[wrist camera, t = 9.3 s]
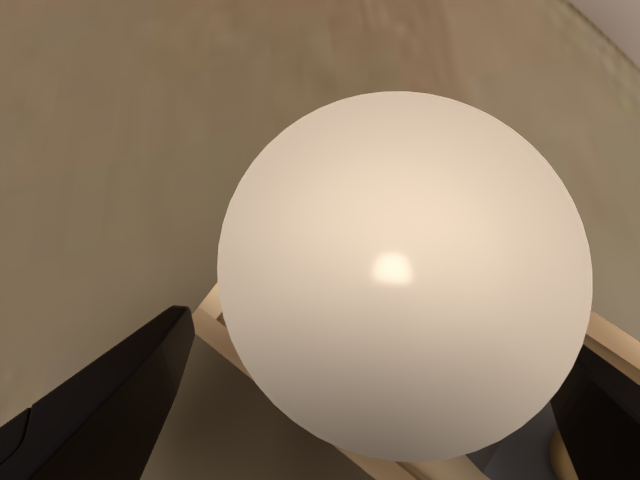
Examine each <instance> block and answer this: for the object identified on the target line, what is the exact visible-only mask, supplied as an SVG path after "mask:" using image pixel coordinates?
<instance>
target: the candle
mask: <svg viewBox="0 0 640 480" xmlns="http://www.w3.org/2000/svg"><path fill="white" fill-rule="evenodd" d="M217 275H218V291H219V297H220V302H221V307H222V313H223V317H224V320H225V323H226V326H227V329H228V332H229V335H230V338H231V341H232V343H233V345H234V347H235V349H236V351H237V353H238V355H239V357H240V359H241V361H242V363H243V365H244V366H245V368H246V369H247V371H248V372H249V374H250V375H251V377H252V378H253V380H254V381H255V383H256V384H257V386H258V387H259V388H260V389H261V390H262V391H263V392H264V394H265V395H266V396H267V397H268V398H269V399H270V400H271V401H272V403H273V404H274V405H275V406H276V407H278V408H279V409H280V410H281V411H282V412H283V413H284V414H286V415H287V416H288V417H289V418H290V419H291V420H292V421H294V422H295V423H296V424H298V425H299V426H301V427H302V428H304V429H306V430H307V431H309V432H310V433H312V434H313V435H315V436H316V437H318V438H320V439H322V440H324V441H326V442H328V443H331V444H333V445H335V446H337V447H339V448H341V449H344V450H347V451H350V452H353V453H357V454H360V455H363V456H366V457H371V458H377V459H383V460H389V461H396V462H427V461H435V460H443V459H450V458H454V457H457V456H461V455H465V454H468V453H472V452H475V451H478V450H480V449H482V448H484V447H487V446H489V445H491V444H494V443H496V442H498V441H500V440H502V439H503V438H505V437H506V436H508V435H509V434H511V433H513V432H514V431H516V430H517V429H519V428H521V427H522V426H523V425H524V424H525V423H527V422H528V421H529V420H530V419H531V418H532V417H534V416H535V415H536V414H537V413H538V412H539V411H541V410H542V408H543V407H544V406H545V405H546V404H547V403H548V402H549V400H550V399H551V398H552V397H553V396H554V395H555V393H556V392H557V391H558V390H559V388H560V387H561V385H562V383H563V382H564V380H565V379H566V377H567V376H568V374H569V372H570V371H571V369H572V367H573V365H574V363H575V361H576V358H577V356H578V354H579V352H580V349H581V347H582V345H583V341H584V337H585V334H586V330H587V327H588V323H589V318H590V311H591V303H592V265H591V258H590V251H589V245H588V241H587V238H586V234H585V231H584V227H583V223H582V221H581V218H580V216H579V214H578V211H577V209H576V207H575V204H574V202H573V200H572V198H571V196H570V195H569V193H568V191H567V189H566V188H565V186H564V184H563V182H562V181H561V179H560V178H559V176H558V175H557V174H556V172H555V171H554V170H553V169H552V167H551V166H550V165H549V163H548V162H547V161H546V160H545V158H544V157H543V156H542V155H541V154H540V153H539V152H538V151H537V150H536V149H535V148H534V147H533V146H532V145H531V144H530V143H529V142H528V141H526V140H525V139H524V138H523V137H522V136H520V135H519V134H518V133H517V132H515V131H514V130H513V129H512V128H510V127H509V126H507V125H505V124H504V123H502V122H501V121H499V120H498V119H496V118H494V117H493V116H491V115H489V114H487V113H485V112H483V111H481V110H479V109H477V108H474V107H472V106H470V105H467V104H464V103H461V102H458V101H456V100H453V99H450V98H445V97H441V96H436V95H432V94H426V93H417V92H407V91H397V92H377V93H370V94H362V95H358V96H354V97H350V98H346V99H342V100H339V101H337V102H334V103H331V104H329V105H326V106H324V107H321V108H319V109H317V110H315V111H313V112H311V113H310V114H308V115H306V116H304V117H302V118H300V119H299V120H298V121H296V122H295V123H293V124H292V125H290V126H289V127H288V128H286V129H285V130H283V131H282V132H281V133H280V134H279V135H278V136H277V137H276V138H275V139H273V140H272V141H271V142H270V143H269V144H268V145H267V146H266V147H265V148H264V149H263V151H262V152H261V153H260V154H259V155H258V156H257V158H256V159H255V160H254V161H253V162H252V164H251V165H250V167H249V168H248V170H247V171H246V173H245V174H244V176H243V177H242V179H241V180H240V182H239V184H238V187H237V189H236V191H235V193H234V195H233V197H232V199H231V201H230V204H229V207H228V210H227V213H226V216H225V219H224V222H223V226H222V231H221V236H220V241H219V247H218V263H217Z"/></svg>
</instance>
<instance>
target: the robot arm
mask: <svg viewBox="0 0 640 480" xmlns="http://www.w3.org/2000/svg"><path fill="white" fill-rule="evenodd" d="M194 336H195V327H194V323H193V319H192V314H191V310H190V308H189V307H187V306H176V305H174V306H171V307H169V308H168V309H166V310H165V311H164V312H162V313H161V314H159V315H158V316H157V317H155V318H154V319H152V320H151V321H150V322H148V323H147V324H145V325H144V326H143V327H141V328H140V329H138V330H137V331H136V332H134V333H133V334H131V335H130V336H129V337H127V338H126V339H124V340H123V341H121V342H120V343H119V344H117V345H116V346H114V347H113V348H112V349H110V350H109V351H107V352H106V353H105V354H103V355H102V356H100V357H99V358H98V359H96V360H95V361H93V362H92V363H91V364H89V365H88V366H86V367H85V368H84V369H82V370H81V371H79V372H78V373H76V374H75V375H74V376H72V377H71V378H69V379H68V380H67V381H65V382H64V383H62V384H61V385H60V386H58V387H57V388H55V389H54V390H53V391H51V392H50V393H48V394H47V395H46V396H44V397H43V398H41V399H40V400H39V401H37V402H36V403H34V404H33V405H32V407H31V408H27V409H26V410H24V411H23V412H21V413H20V414H19V415H17V416H16V417H14V418H13V419H12V420H10V421H9V422H7V423H6V424H4V425H3V426H1V427H0V480H140V478H141V476H142V473H143V471H144V469H145V466H146V464H147V462H148V459H149V457H150V455H151V452H152V450H153V448H154V445H155V443H156V441H157V439H158V436H159V434H160V432H161V429H162V427H163V425H164V422H165V420H166V418H167V415H168V413H169V411H170V408H171V406H172V404H173V401H174V399H175V396H176V394H177V391H178V388H179V385H180V382H181V379H182V375H183V372H184V369H185V366H186V362H187V359H188V356H189V353H190V349H191V346H192V343H193V340H194ZM549 401H550V404H551V408H552V411H553V414H554V418H555V421H556V424H557V427H558V430H559V432H560V435H561V438H562V440H563V443H564V445H565V448H566V450H567V453H568V455H569V458H570V460H571V462H572V465H573V467H574V470H575V472H576V475H577V477H578V480H640V385H639V384H637V383H636V382H635V381H633V380H632V379H630V378H629V377H628V376H626V375H625V374H624V373H622V372H621V371H620V370H618V369H617V368H615V367H614V366H613V365H611V364H610V363H609V362H607V361H606V360H604V359H603V358H602V357H600V356H599V355H598V354H596V353H595V352H594V351H592V350H591V349H589V348H588V347H587V346H585V345H584V344H583V345H582V347H581V349H580V352H579V354H578V356H577V358H576V361H575V363H574V365H573V367H572V369H571V371H570V372H569V374H568V376H567V377H566V379H565V380H564V382H563V383H562V385H561V387H560V388H559V390H558V391H557V392H556V393H555V395H554V396H553V397H552V398H551V399H550V400H549Z"/></svg>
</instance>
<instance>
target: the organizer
mask: <svg viewBox="0 0 640 480" xmlns="http://www.w3.org/2000/svg"><path fill="white" fill-rule="evenodd" d="M192 319H193V323H194V327H195V333H196V334H197V335H198V336H199V337H200V338H202V339H203V340H204V341H205V342H207V343H208V344H209V345H210V346H212V347H213V348H214V349H215V350H216V351H218V352H219V353H220V354H221V355H223V356H224V357H225V358H226V359H228V360H229V361H230V362H231V363H232V364H234V365H235V366H236V367H237V368H239V369H240V370H241V371H242V372H244V373H245V374H246V375H247V376H248V377H250V378H251V379H252V380H253V378H252V377H251V375H250V374H249V372H248V371H247V369H246V368H245V366H244V365H243V363H242V361H241V359H240V357H239V355H238V353H237V351H236V349H235V347H234V345H233V343H232V341H231V338H230V335H229V332H228V329H227V326H226V323H225V320H224V317H223V313H222V307H221V302H220V297H219V291H218V282H217V283H216V285H215V286H214V287H213V289H212V290H211V291H210V292H209V294H208V295H207V296H206V298H205V299H204V300H203V301H202V303H201V304H200V305H199V307H198V308H197V309H196V310H195V312H194V313H193V314H192ZM583 344H584V345H585V346H587V347H588V348H589V349H591V350H592V351H594V352H595V353H596V354H598V355H599V356H600V357H602V358H603V359H604V360H606V361H607V362H609V363H610V364H611V365H613V366H614V367H615V368H617V369H618V370H620V371H621V372H622V373H624V374H625V375H626V376H628V377H629V378H630V379H632V380H633V381H635V382H636V383H637V384H639V385H640V342H639V341H637V340H636V339H634V338H633V337H631V336H630V335H628V334H626V333H625V332H623V331H622V330H620V329H619V328H617V327H616V326H614V325H613V324H611V323H610V322H608V321H607V320H605V319H604V318H602V317H601V316H599V315H598V314H596V313H595V312H593V311H592V310H591V311H590V318H589V323H588V327H587V330H586V334H585V337H584V341H583ZM253 381H254V380H253ZM332 445H333V444H332ZM333 446H335V445H333ZM335 447H336V448H337V449H338V450H340V451H341V452H342V453H343V454H345V455H346V456H347V457H348V458H349V459H351V460H352V461H353V462H354V463H356V464H357V465H358V466H359V467H361V468H362V469H363V470H364V471H365V472H367V473H368V474H369V475H370V476H372V477H373V478H374V479H375V480H578V477H577V475H576V472H575V470H574V467H573V465H572V462H571V460H570V458H569V455H568V453H567V450H566V448H565V445H564V443H563V440H562V438H561V435H560V432H559V430H558V427H557V424H556V421H555V418H554V414H553V411H552V408H551V404H550V401H549V402H548V403H547V404H546V405H545V406H544V407H543V408H542V410H541V411H539V412H538V413H537V414H536V415H535V416H534V417H532V418H531V419H530V420H529V421H528V422H527V423H525V424H524V425H523V426H522V427H521V428H519V429H517V430H516V431H514V432H513V433H511V434H509V435H508V436H506V437H505V438H503V439H502V440H500V441H498V442H496V443H494V444H491V445H489V446H487V447H484V448H482V449H480V450H478V451H475V452H472V453H468V454H465V455H461V456H457V457H454V458H450V459H443V460H435V461H427V462H396V461H389V460H383V459H377V458H371V457H366V456H363V455H360V454H357V453H353V452H350V451H347V450H344V449H341V448H339V447H337V446H335Z"/></svg>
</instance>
